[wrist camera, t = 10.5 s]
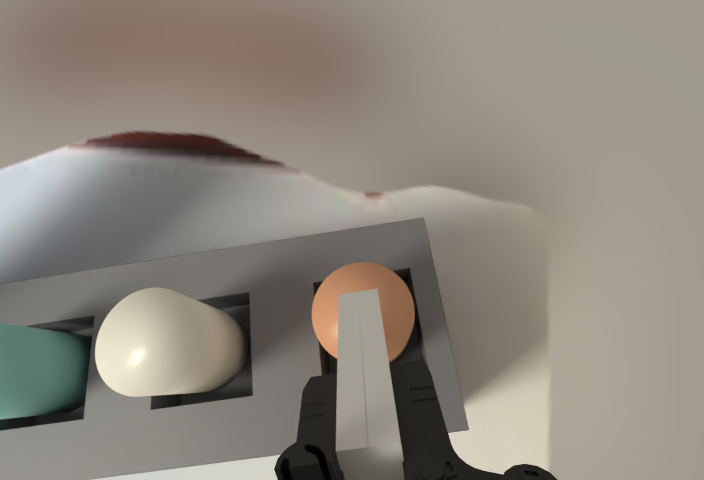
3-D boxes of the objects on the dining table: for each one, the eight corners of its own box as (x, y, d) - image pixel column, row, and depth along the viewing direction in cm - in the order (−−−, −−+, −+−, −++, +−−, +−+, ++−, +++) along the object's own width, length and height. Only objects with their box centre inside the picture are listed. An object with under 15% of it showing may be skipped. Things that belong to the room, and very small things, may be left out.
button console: (83, 462, 28) (-51, 498, 19) (99, 310, 32) (-8, 285, 23) (444, 414, 27) (468, 430, 18) (414, 262, 30) (423, 217, 22)
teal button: (28, 417, 22) (-95, 430, 17) (40, 340, 24) (-69, 327, 18) (101, 407, 22) (2, 417, 16) (108, 329, 24) (20, 314, 18)
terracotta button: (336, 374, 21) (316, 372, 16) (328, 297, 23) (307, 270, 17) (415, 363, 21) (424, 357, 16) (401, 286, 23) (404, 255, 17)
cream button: (170, 397, 21) (89, 403, 15) (173, 316, 22) (100, 295, 17) (249, 386, 21) (196, 388, 15) (247, 305, 22) (198, 280, 17)
